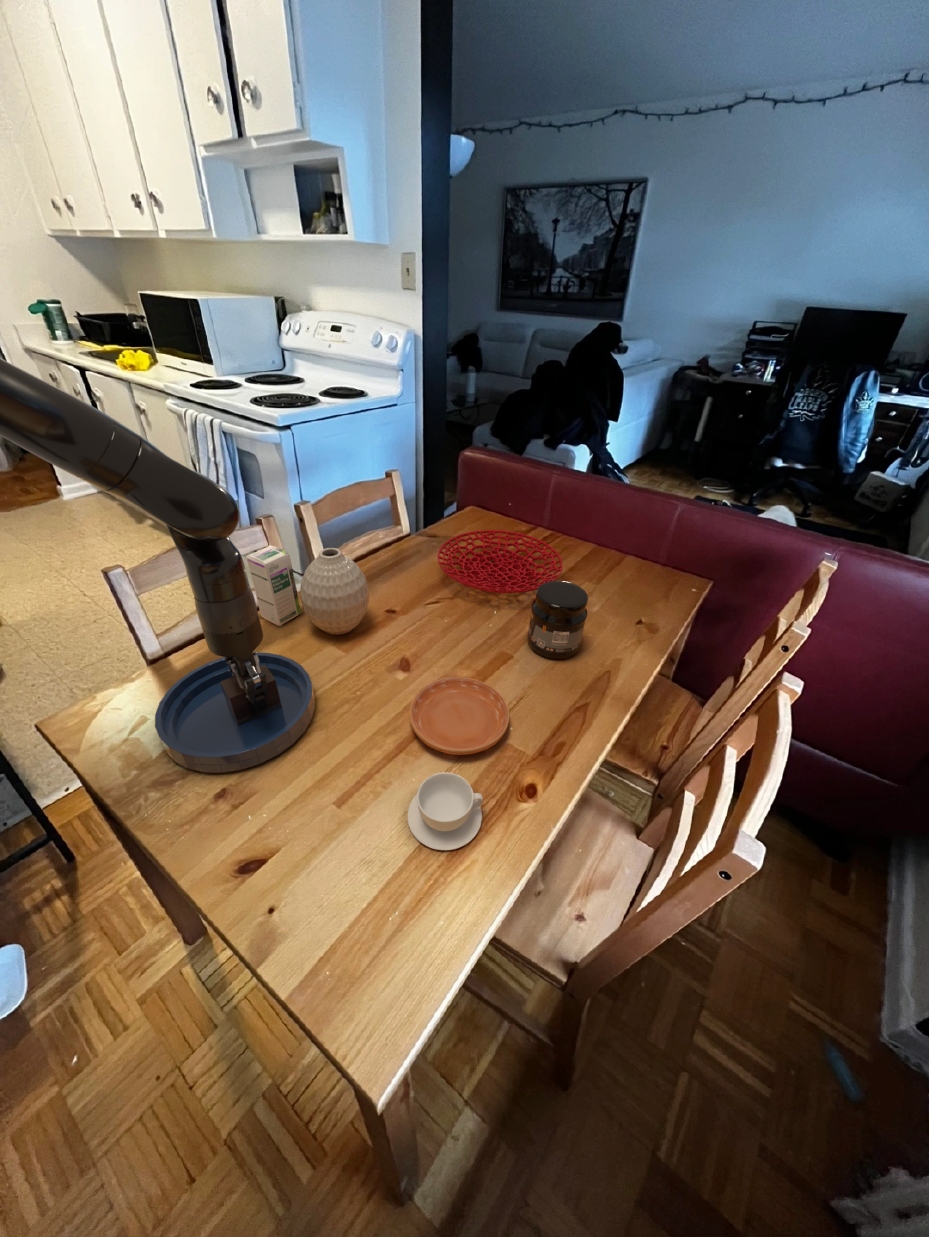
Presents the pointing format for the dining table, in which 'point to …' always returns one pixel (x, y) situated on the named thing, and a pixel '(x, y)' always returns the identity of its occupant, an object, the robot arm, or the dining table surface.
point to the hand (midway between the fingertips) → (253, 702)
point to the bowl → (499, 563)
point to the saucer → (459, 715)
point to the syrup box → (274, 584)
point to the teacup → (445, 812)
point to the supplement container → (557, 619)
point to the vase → (334, 592)
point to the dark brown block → (240, 703)
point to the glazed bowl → (209, 732)
